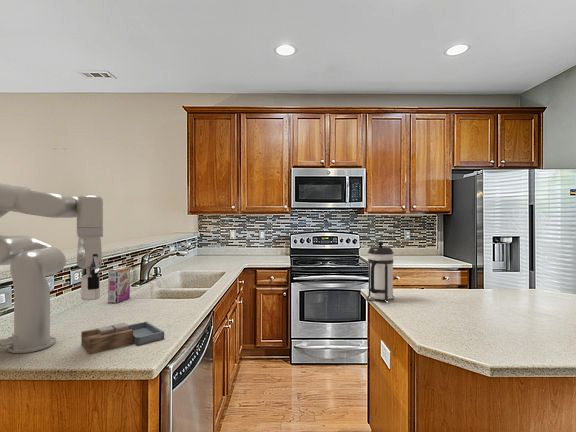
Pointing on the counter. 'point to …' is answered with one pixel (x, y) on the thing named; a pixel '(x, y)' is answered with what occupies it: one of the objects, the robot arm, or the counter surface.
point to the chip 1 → (105, 330)
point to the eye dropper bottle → (86, 293)
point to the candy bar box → (119, 284)
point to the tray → (145, 333)
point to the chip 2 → (120, 327)
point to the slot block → (105, 340)
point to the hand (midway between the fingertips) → (90, 287)
